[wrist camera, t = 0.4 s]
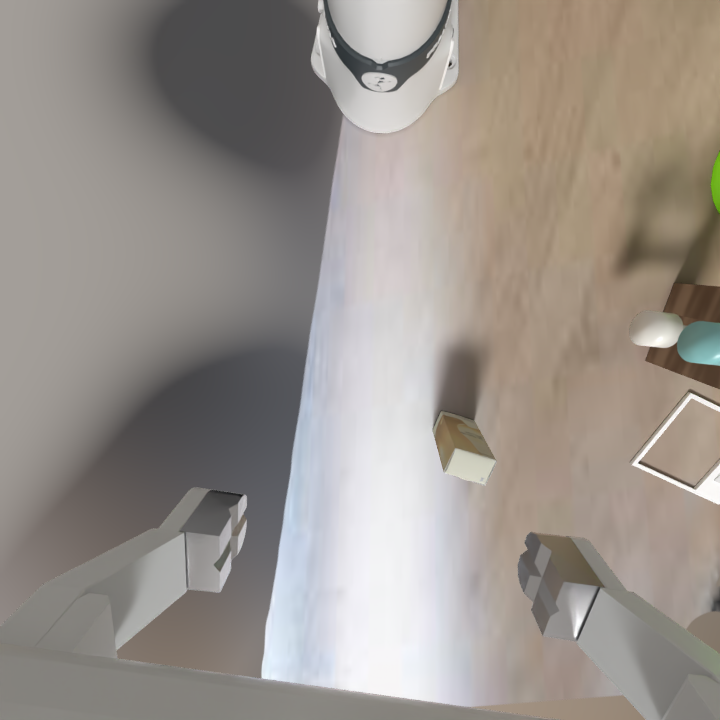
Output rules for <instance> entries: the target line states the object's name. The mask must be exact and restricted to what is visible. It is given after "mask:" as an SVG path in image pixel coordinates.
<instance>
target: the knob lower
mask: <svg viewBox="0 0 720 720" xmlns="http://www.w3.org/2000/svg"><path fill="white" fill-rule="evenodd" d="M685 327H687V326H685V325H683V322H682V320H681V318H680V317H679V316H678V315H676V314H674V313H665V312H656V311H642V312H640V313H639V314H637V315H636V316H635V317H634V319H633V320H632V322H631V325H630V328H629V335H630V339H631V341H632V342H633V343H634V344H636V345H642V346H650V347H659V348H668V347H671V346H673V345H674V344H675V343H676V342H677V341H678V338H679V335H680V333H681V332H682V331H683V329H684V328H685Z"/></svg>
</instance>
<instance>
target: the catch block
mask: <svg viewBox="0 0 720 720" xmlns="http://www.w3.org/2000/svg"><path fill="white" fill-rule="evenodd" d="M664 312H665V313H674V314H676V315H678V316H679V317H680V318H681V320H682V322H683V325H685V326H688V325H689V324H691V323H694V322H697V321H705V322H714V323H720V287H717V286H705V285H693V284H681V283H674V285H673V288H672V290H671V293H670V296H669V298H668V301H667V304H666V307H665V309H664ZM646 361H647V362H650V363H652V364H655V365H658V366H660V367H663V368H665V369H668V370H671V371H673V372H676V373H678V374H681V375H684V376H686V377H689V378H692V379H694V380H697V381H699V382H702V383H705V384H707V385H710V386H712V387H715V388H718V389H720V366H717V365H709V364H700V363H691V362H687V361H685V360H684V359H683V358H682V357H681V356H680V355H679V353H678V350H677V342H676V343H675V344H674V345H673V346H671V347H668V348H659V347H650V350H649V352H648V355H647V358H646Z"/></svg>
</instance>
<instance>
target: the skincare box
mask: <svg viewBox="0 0 720 720" xmlns="http://www.w3.org/2000/svg"><path fill="white" fill-rule="evenodd" d="M433 434H434V437H435V441H436V445H437V449H438V452H439V456H440V460H441V463H442V467H443V471H444V473H445V474H448V475H452V476H455V477H458V478H461V479H464V480H468V481H471V482H474V483H478V484H481V485H486V483H487V481H488V479H489V477H490V475H491V473H492V471H493V469H494V467H495V464H496V462H497V461H496V459H495V458H494V456H493V454H492V452H491V450H490V448H489V447H488V445H487V443H486V441H485V439H484V437H483V436H482V434H481V432H480V430H479V428H478V426H477V425H476V423H475V421H473V420H471V419H468V418H465V417H462V416H459V415H455V414H452V413H448V412H445V411H441V412H440V415H439V417H438V419H437V421H436V424H435V426H434V428H433Z"/></svg>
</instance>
